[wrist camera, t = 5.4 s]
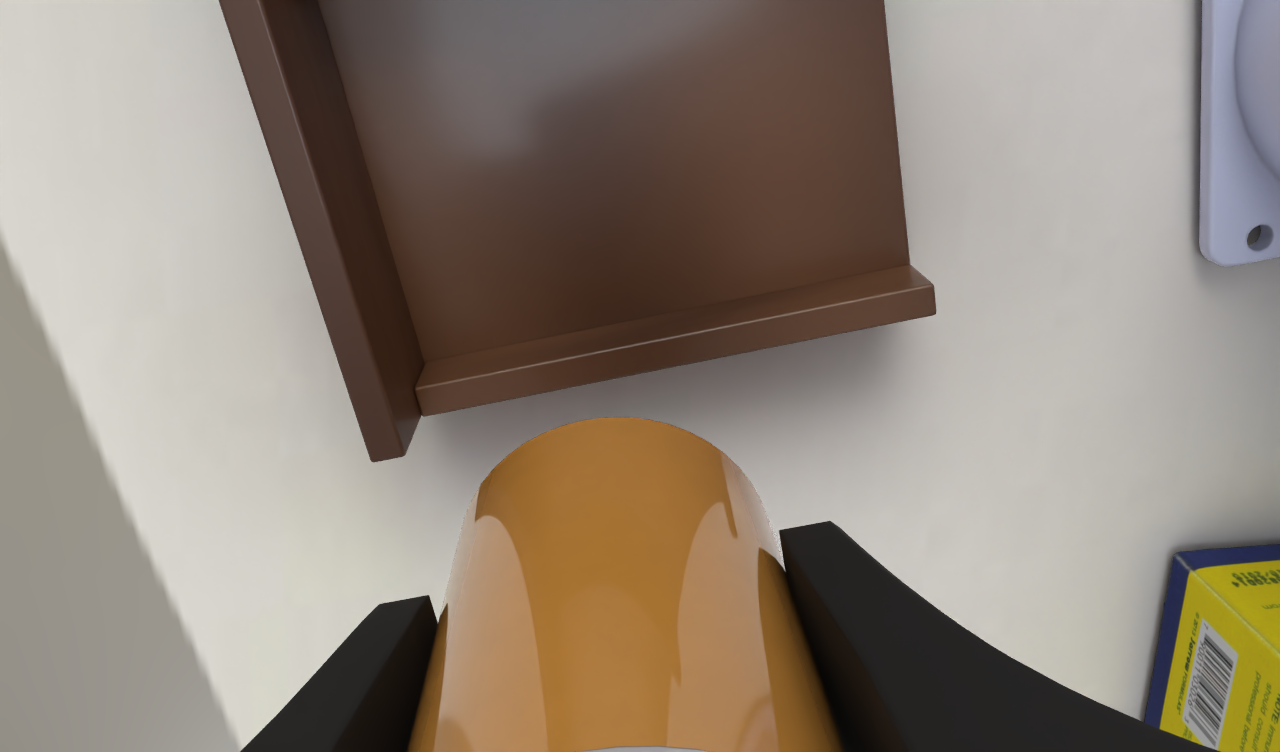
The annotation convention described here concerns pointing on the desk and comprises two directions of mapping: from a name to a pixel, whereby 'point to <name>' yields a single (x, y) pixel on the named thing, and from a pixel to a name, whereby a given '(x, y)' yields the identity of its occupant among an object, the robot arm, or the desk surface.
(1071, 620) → the desk surface
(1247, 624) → the supplement box
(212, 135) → the desk surface
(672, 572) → the disc
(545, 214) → the tray
